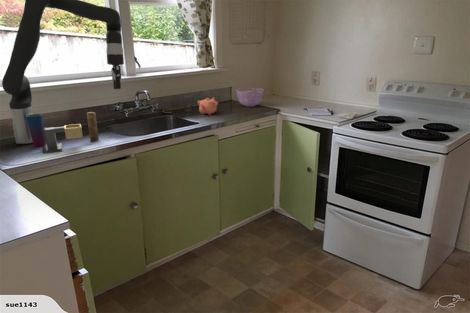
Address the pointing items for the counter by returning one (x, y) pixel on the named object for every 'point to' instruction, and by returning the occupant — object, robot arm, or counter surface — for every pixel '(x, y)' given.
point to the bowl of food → (249, 96)
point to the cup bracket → (52, 145)
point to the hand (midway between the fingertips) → (117, 88)
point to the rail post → (92, 126)
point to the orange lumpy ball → (207, 106)
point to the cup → (36, 129)
